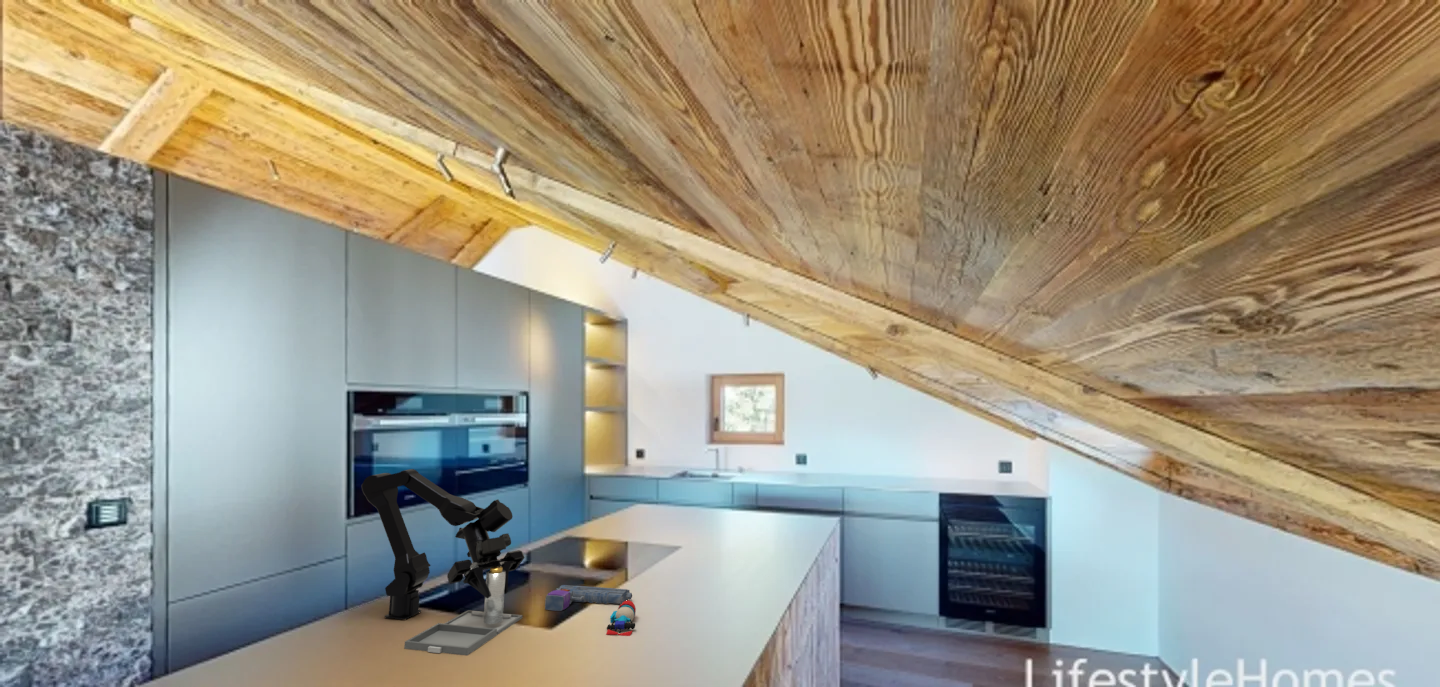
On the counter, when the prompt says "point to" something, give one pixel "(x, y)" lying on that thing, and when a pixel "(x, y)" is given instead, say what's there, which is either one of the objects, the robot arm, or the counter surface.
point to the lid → (477, 620)
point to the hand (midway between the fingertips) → (497, 595)
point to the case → (451, 639)
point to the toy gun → (584, 596)
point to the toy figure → (622, 619)
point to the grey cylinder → (494, 595)
